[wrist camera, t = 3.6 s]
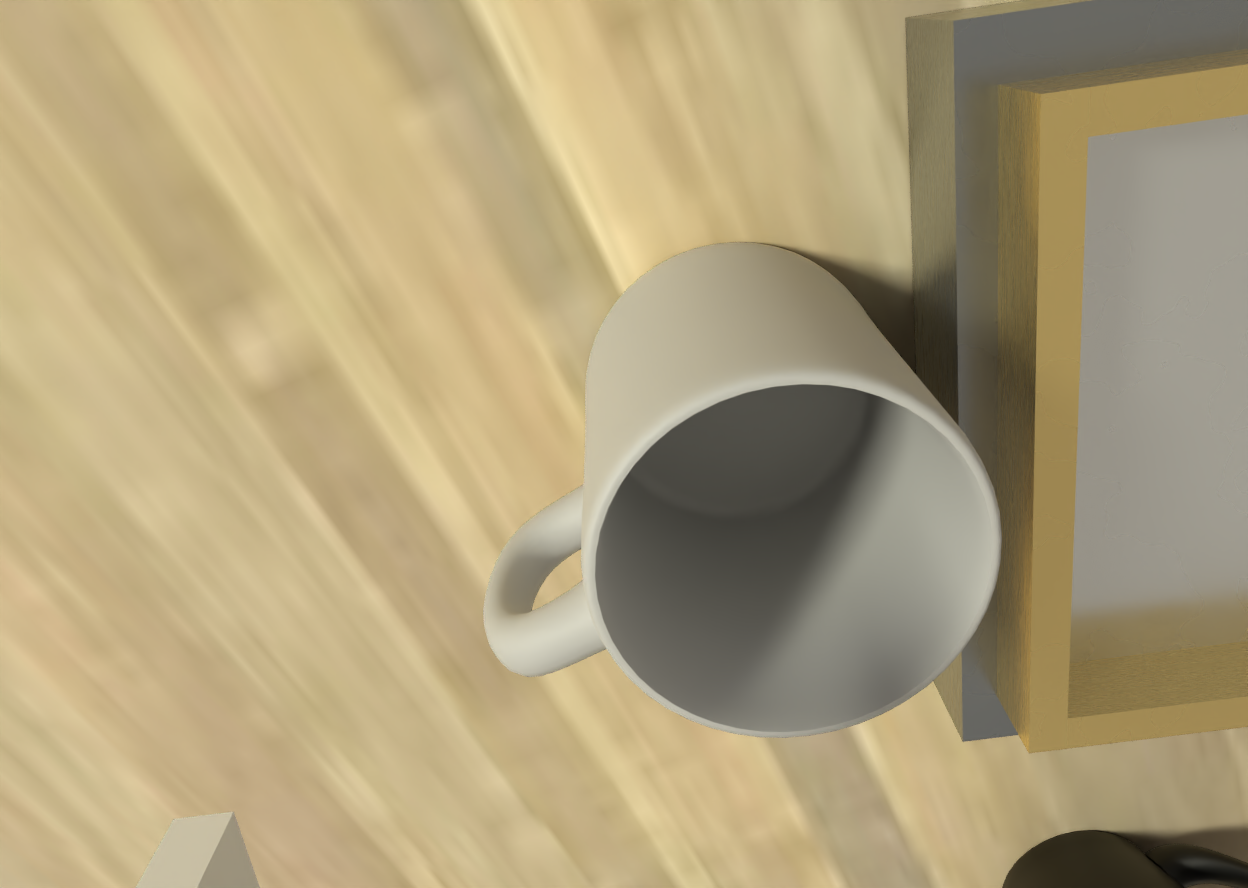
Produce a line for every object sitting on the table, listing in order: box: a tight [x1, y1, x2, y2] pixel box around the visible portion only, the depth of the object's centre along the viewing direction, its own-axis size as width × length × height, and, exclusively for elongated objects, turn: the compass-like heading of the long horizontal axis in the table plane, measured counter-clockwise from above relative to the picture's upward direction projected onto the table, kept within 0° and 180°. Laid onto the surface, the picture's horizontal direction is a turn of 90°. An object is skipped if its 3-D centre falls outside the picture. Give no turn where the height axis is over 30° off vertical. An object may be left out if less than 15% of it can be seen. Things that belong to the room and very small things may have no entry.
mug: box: [483, 242, 1002, 738], centre depth 26 cm, size 12×8×11 cm
